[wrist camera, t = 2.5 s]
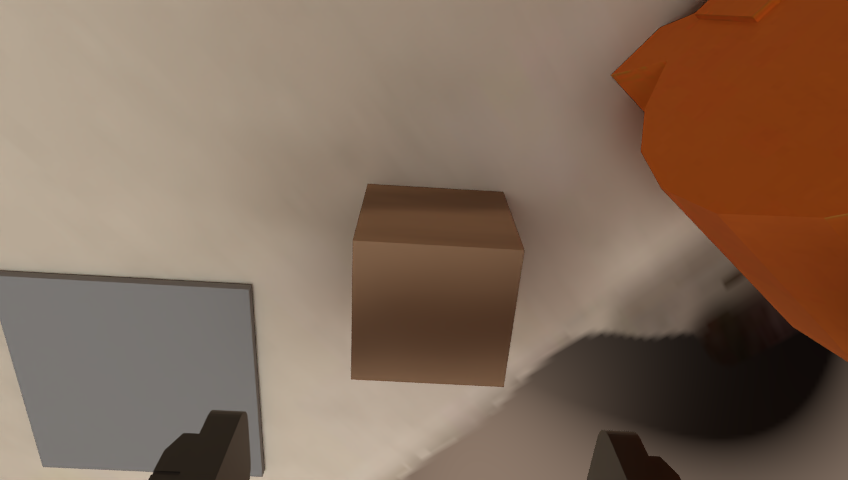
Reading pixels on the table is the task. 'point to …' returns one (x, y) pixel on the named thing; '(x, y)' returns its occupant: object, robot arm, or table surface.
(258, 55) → the table surface
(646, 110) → the alarm clock
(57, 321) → the mat
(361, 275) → the cube
